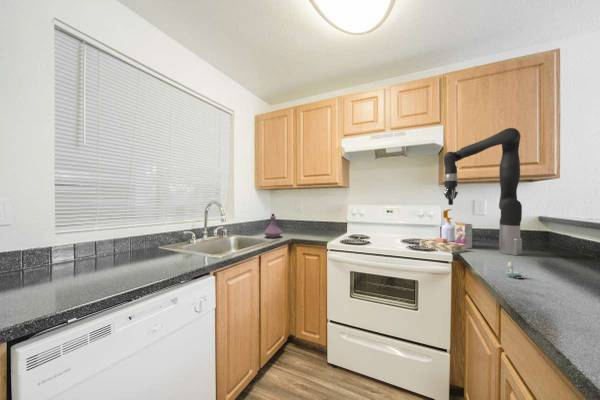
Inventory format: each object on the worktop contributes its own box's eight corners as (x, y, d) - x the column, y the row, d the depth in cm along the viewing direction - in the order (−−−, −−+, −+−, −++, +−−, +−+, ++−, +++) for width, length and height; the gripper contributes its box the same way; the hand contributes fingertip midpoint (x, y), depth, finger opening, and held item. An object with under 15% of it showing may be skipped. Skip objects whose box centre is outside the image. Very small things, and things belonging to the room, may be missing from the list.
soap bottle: (448, 241, 173) (449, 209, 172) (438, 239, 181) (438, 209, 181) (458, 241, 175) (458, 209, 175) (447, 238, 184) (447, 208, 183)
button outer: (437, 244, 156) (437, 240, 156) (432, 245, 154) (432, 240, 154) (430, 243, 160) (430, 238, 160) (426, 243, 158) (426, 239, 158)
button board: (465, 250, 143) (465, 243, 143) (451, 252, 138) (451, 245, 138) (432, 244, 163) (433, 238, 163) (419, 245, 158) (419, 239, 158)
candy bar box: (453, 244, 161) (454, 222, 161) (460, 244, 161) (461, 222, 160) (465, 248, 150) (465, 223, 149) (472, 248, 150) (472, 223, 149)
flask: (286, 236, 197) (286, 213, 197) (274, 239, 183) (274, 214, 183) (271, 234, 206) (271, 213, 205) (259, 237, 192) (259, 214, 191)
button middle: (447, 243, 149) (447, 238, 149) (442, 243, 147) (442, 239, 147) (440, 242, 154) (440, 237, 154) (435, 242, 152) (435, 238, 152)
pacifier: (522, 276, 98) (504, 273, 102) (523, 262, 98) (504, 259, 101) (525, 281, 92) (506, 277, 96) (526, 266, 92) (507, 263, 96)
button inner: (458, 248, 143) (458, 243, 143) (453, 249, 141) (453, 244, 141) (450, 247, 147) (450, 242, 147) (446, 247, 145) (446, 243, 145)
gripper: (450, 179, 153) (450, 205, 154) (462, 180, 159) (461, 204, 159) (439, 180, 160) (439, 204, 160) (451, 181, 166) (451, 204, 166)
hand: (450, 204), depth 160 cm, fingers closed
